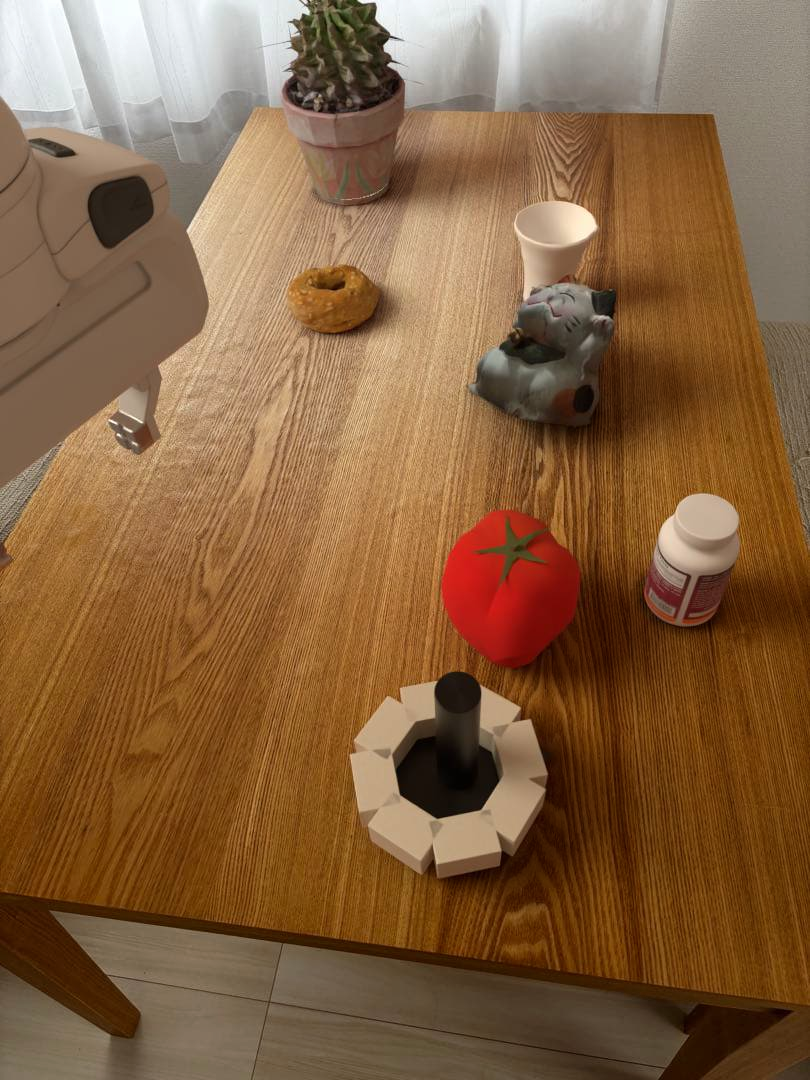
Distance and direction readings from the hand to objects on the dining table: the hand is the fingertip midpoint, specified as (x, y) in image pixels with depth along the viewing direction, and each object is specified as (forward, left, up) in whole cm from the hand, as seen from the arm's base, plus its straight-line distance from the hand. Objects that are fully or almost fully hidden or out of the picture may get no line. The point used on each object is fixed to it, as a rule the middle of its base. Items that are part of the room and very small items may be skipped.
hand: (70, 501), depth 42 cm
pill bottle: (+34, -23, -31) cm, 52 cm away
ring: (+9, -16, -30) cm, 35 cm away
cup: (+65, +7, -31) cm, 72 cm away
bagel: (+50, +27, -31) cm, 65 cm away
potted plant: (+73, +41, -31) cm, 89 cm away
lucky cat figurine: (+50, 0, -31) cm, 59 cm away
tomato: (+24, -12, -31) cm, 41 cm away
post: (+10, -16, -31) cm, 36 cm away
